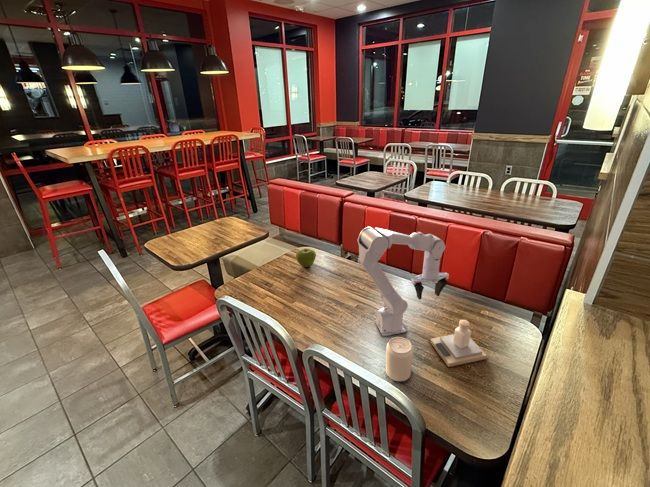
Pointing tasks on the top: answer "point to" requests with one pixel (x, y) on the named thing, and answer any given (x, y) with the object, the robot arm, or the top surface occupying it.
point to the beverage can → (399, 358)
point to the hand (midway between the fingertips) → (428, 296)
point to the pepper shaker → (462, 334)
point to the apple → (306, 257)
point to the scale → (457, 351)
